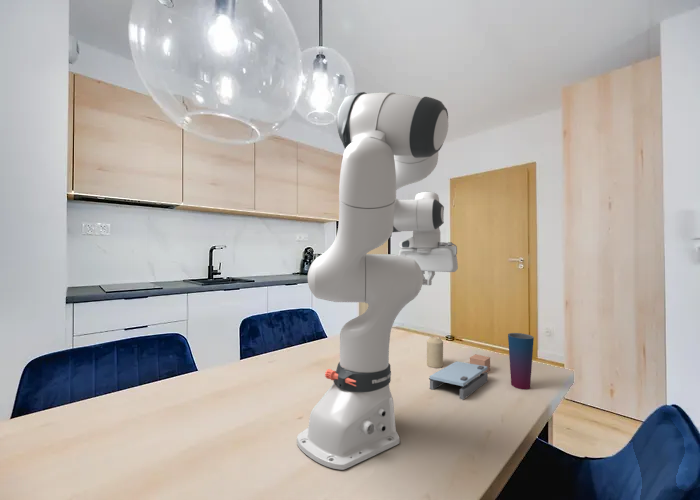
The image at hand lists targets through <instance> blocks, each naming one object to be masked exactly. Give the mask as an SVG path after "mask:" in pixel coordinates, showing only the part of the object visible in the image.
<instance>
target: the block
mask: <svg viewBox="0 0 700 500" xmlns="http://www.w3.org/2000/svg"><path fill="white" fill-rule="evenodd" d="M469 363H470V364H476V365H481V366H487V367H488V369H487V370H486V371H484V372H487V373H489V372H490V371H491V357H489V356H485V355H481V354H477V353H476V354H473V355H471V356H470V357H469ZM484 372H483V373H484Z"/></svg>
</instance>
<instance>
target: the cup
mask: <svg viewBox="0 0 700 500" xmlns="http://www.w3.org/2000/svg"><path fill="white" fill-rule="evenodd" d="M534 339H535V337H534V336H533V335H531V334H529V333H528V334H527V333H522V332H521V333H520V332H510V333H507V340H508V354H509V355H508V356H509V372H510V385H511V386H512V387H513V388H515V389H519V390H530V389H531V382H532V381H531V379H532V367H533V366H532V364H533V356H534V341H535V340H534Z"/></svg>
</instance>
